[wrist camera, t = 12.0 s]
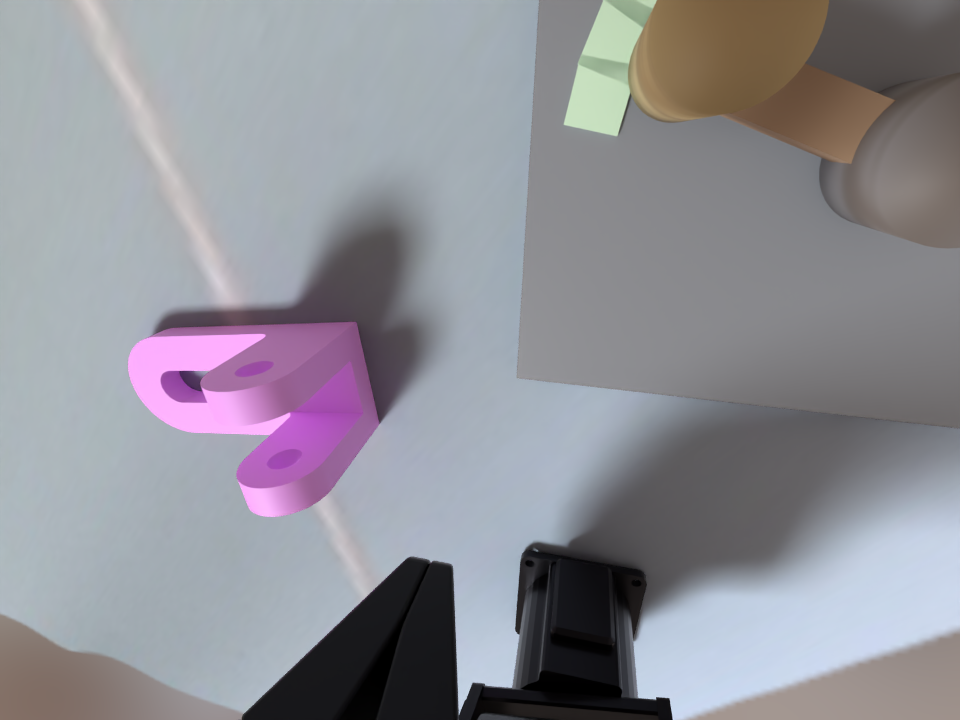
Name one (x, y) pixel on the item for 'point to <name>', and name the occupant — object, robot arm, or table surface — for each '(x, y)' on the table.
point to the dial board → (727, 236)
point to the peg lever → (809, 108)
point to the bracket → (267, 401)
